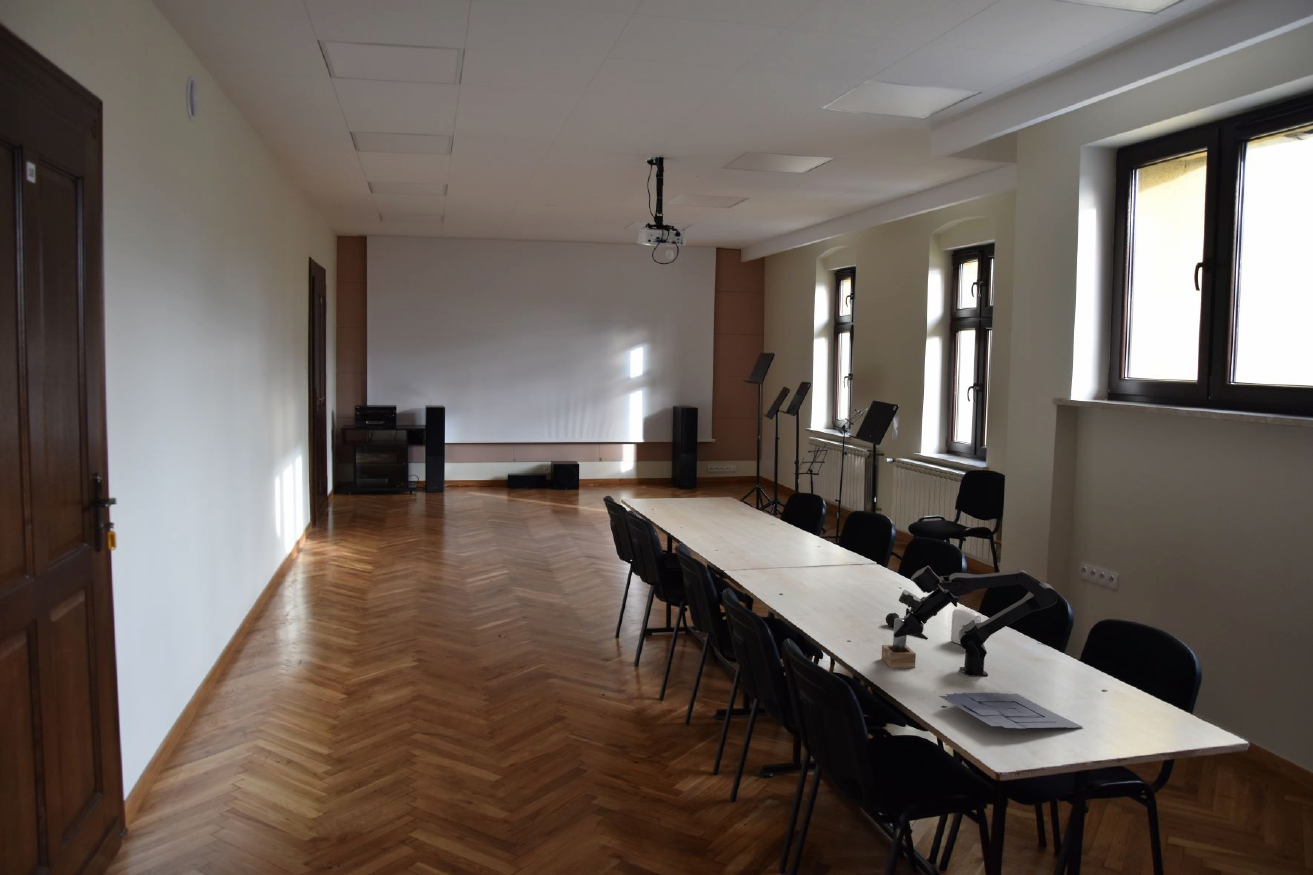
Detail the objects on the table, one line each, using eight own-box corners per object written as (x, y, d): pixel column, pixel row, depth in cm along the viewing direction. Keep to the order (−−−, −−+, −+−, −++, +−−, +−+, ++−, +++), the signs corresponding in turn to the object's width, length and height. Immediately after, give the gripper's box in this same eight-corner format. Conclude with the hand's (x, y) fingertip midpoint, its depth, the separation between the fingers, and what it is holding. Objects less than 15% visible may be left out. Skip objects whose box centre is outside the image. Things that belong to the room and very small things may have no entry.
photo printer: (948, 640, 299) (950, 605, 298) (957, 639, 301) (959, 604, 300) (972, 650, 290) (974, 614, 289) (981, 648, 292) (983, 612, 291)
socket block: (915, 667, 272) (915, 653, 272) (890, 667, 272) (891, 653, 271) (905, 658, 280) (906, 644, 280) (881, 658, 279) (882, 645, 279)
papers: (931, 702, 242) (934, 690, 241) (1014, 702, 253) (1016, 690, 253) (995, 739, 219) (997, 725, 219) (1083, 737, 230) (1085, 724, 230)
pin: (907, 658, 275) (910, 620, 274) (900, 661, 273) (902, 622, 272) (896, 655, 278) (899, 617, 277) (889, 657, 276) (891, 619, 275)
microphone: (929, 646, 302) (889, 625, 318) (934, 632, 302) (894, 611, 317) (920, 644, 299) (880, 622, 315) (925, 630, 299) (885, 608, 314)
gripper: (917, 576, 281) (880, 605, 286) (913, 590, 263) (874, 621, 268) (941, 603, 279) (904, 632, 284) (939, 619, 261) (899, 649, 266)
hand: (895, 633), depth 275 cm, fingers open, 6 cm apart
